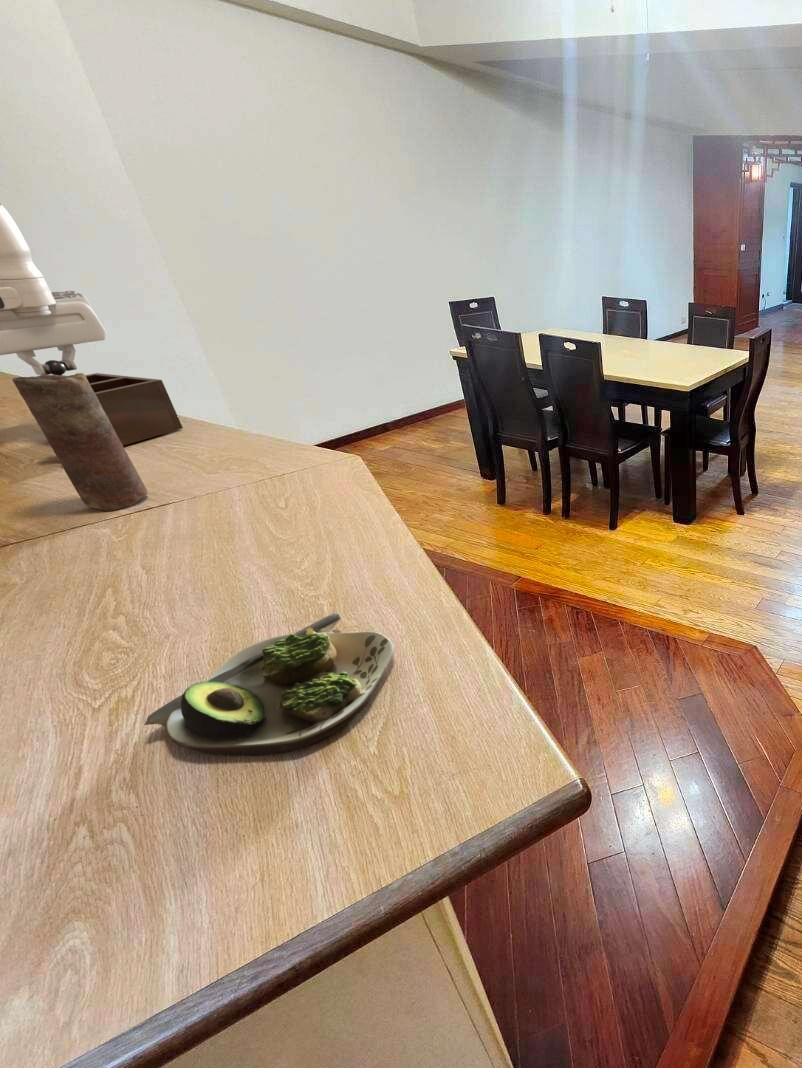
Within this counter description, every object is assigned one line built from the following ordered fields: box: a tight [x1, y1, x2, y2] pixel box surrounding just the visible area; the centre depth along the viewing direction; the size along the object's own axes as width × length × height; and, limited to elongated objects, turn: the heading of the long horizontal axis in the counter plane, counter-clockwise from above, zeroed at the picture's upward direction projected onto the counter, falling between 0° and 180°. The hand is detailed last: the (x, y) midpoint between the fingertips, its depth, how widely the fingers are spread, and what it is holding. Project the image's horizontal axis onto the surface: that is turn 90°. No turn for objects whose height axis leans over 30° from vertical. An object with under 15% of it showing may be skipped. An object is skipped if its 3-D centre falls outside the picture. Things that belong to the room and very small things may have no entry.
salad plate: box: [143, 613, 396, 757], centre depth 59 cm, size 19×18×5 cm
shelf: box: [44, 359, 184, 447], centre depth 115 cm, size 17×13×14 cm
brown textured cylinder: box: [12, 372, 148, 512], centre depth 88 cm, size 8×7×20 cm
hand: (57, 372), depth 114 cm, fingers closed on shelf, 3 cm apart
